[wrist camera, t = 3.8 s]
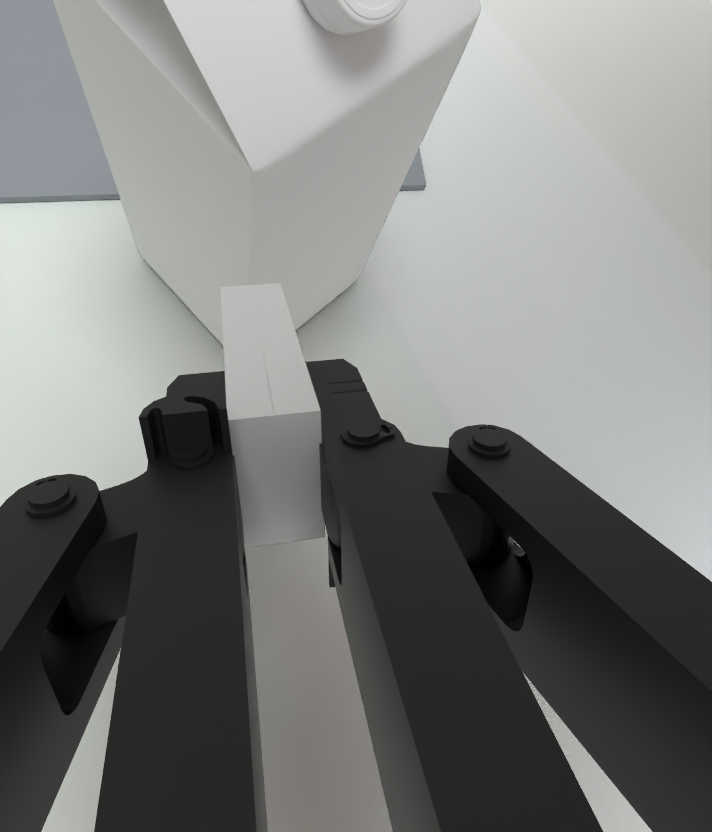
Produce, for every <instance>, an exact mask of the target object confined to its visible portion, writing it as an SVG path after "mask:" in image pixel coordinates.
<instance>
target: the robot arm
mask: <svg viewBox="0 0 712 832" xmlns="http://www.w3.org/2000/svg"><path fill="white" fill-rule="evenodd" d="M221 306H222V327H223V347H224V368H225V371H221V372H210V373H199V374H187V375H179V376H178V377H177V378H176V379H175V380H174V381H173V382H172V383H171V384H170V385H169V386H168V388H167V395H166V397H164V398H161V399H159V400H156V401H154V402H153V403H151V404H150V405H148V406H147V407H146V408H144V409H143V411H142V413H141V414H140V416H139V421H140V425H141V430H142V435H143V439H144V444H145V449H146V453H147V458H148V467H147V471H146V472H145V473H144V474H142V475H140V476H139V477H137V478H135V479H133V480H131V481H129V482H126V483H123V484H121V485H118V486H115V487H112V488H108V489H105V490H102V491H99V489H98V487H97V485H96V482H94V481H93V480H91V479H89V478H88V477H86V476H81V475H74V474H65V475H54V476H50V477H46V478H42V479H39V480H36V481H34V482H32V483H30V484H28V485H26V486H24V487H22V488H20V489H19V490H17V491H16V492H15V493H14V494H13V495H12V496H10V497H9V498H8V499H7V500H6V501H5V502H4V503H3V505H2V506H1V507H0V832H41V830H42V828H43V826H44V823H45V821H46V819H47V816H48V814H49V812H50V810H51V807H52V805H53V803H54V800H55V798H56V796H57V793H58V791H59V789H60V786H61V784H62V782H63V780H64V777H65V775H66V773H67V770H68V768H69V766H70V763H71V761H72V759H73V757H74V754H75V752H76V750H77V747H78V745H79V743H80V740H81V738H82V736H83V733H84V731H85V729H86V727H87V724H88V722H89V720H90V717H91V715H92V713H93V710H94V708H95V706H96V704H97V701H98V699H99V697H100V694H101V692H102V690H103V687H104V685H105V683H106V680H107V678H108V676H109V674H110V671H111V669H112V667H113V664H114V662H115V660H116V657H117V655H118V653H119V651H120V648H121V652H120V659H119V666H118V673H117V680H116V687H115V694H114V700H113V707H112V714H111V721H110V728H109V735H108V742H107V748H106V755H105V762H104V769H103V776H102V783H101V789H100V796H99V803H98V810H97V817H96V824H95V831H94V832H268V829H267V816H266V804H265V791H264V778H263V765H262V752H261V740H260V727H259V714H258V701H257V688H256V676H255V663H254V650H253V637H252V624H251V612H250V599H249V586H248V573H247V564H246V556H245V548H251V547H258V546H265V545H272V544H279V543H286V542H293V541H300V540H307V539H314V538H321V537H325V525H326V529H327V533H328V556H329V587H335V586H336V591H337V595H338V599H339V603H340V608H341V612H342V616H343V620H344V625H345V629H346V633H347V637H348V642H349V646H350V650H351V654H352V659H353V663H354V667H355V671H356V676H357V680H358V684H359V688H360V693H361V697H362V701H363V705H364V710H365V714H366V718H367V722H368V727H369V731H370V735H371V740H372V744H373V748H374V752H375V757H376V761H377V765H378V769H379V774H380V778H381V782H382V786H383V791H384V795H385V799H386V803H387V808H388V812H389V816H390V820H391V825H392V829H393V832H603V830H602V828H601V826H600V825H599V823H598V821H597V819H596V817H595V815H594V813H593V811H592V809H591V807H590V805H589V803H588V801H587V799H586V797H585V795H584V793H583V791H582V789H581V787H580V785H579V783H578V781H577V779H576V777H575V775H574V773H573V771H572V769H571V767H570V765H569V763H568V761H567V759H566V757H565V755H564V753H563V751H562V749H561V747H560V746H559V744H558V742H557V740H556V738H555V736H554V734H553V732H552V730H551V728H550V726H549V724H548V722H547V720H546V718H545V716H544V714H543V712H542V710H541V708H540V706H539V704H538V702H537V700H536V698H535V696H534V694H533V692H532V690H531V688H530V686H529V684H528V682H527V680H526V678H525V676H524V674H525V675H526V676H527V678H528V679H529V680H530V681H531V683H532V684H533V685H534V686H535V687H536V689H537V690H538V691H539V692H540V694H541V695H542V696H543V697H544V699H545V700H546V701H547V702H548V703H549V705H550V706H551V707H552V708H553V710H554V711H555V712H556V713H557V715H558V716H559V717H560V718H561V719H562V721H563V722H564V723H565V724H566V726H567V727H568V728H569V729H570V731H571V732H572V733H573V734H574V735H575V737H576V738H577V739H578V740H579V742H580V743H581V744H582V745H583V747H584V748H585V749H586V750H587V751H588V753H589V754H590V755H591V756H592V758H593V759H594V760H595V761H596V763H597V764H598V765H599V766H600V767H601V769H602V770H603V771H604V772H605V774H606V775H607V776H608V777H609V779H610V780H611V781H612V782H613V783H614V785H615V786H616V787H617V788H618V790H619V791H620V792H621V793H622V795H623V796H624V797H625V798H626V799H627V801H628V802H629V803H630V804H631V806H632V807H633V808H634V809H635V811H636V812H637V813H638V814H639V815H640V817H641V818H642V819H643V820H644V822H645V823H646V824H647V825H648V827H649V828H650V829H651V830H652V831H653V832H712V582H711V581H710V580H709V579H707V578H706V577H705V576H703V575H702V574H701V573H699V572H698V571H697V570H695V569H694V568H693V567H692V566H690V565H689V564H688V563H686V562H685V561H684V560H682V559H681V558H680V557H678V556H677V555H676V554H675V553H673V552H672V551H671V550H669V549H668V548H667V547H665V546H664V545H663V544H661V543H660V542H659V541H657V540H656V539H655V538H654V537H652V536H651V535H650V534H648V533H647V532H646V531H644V530H643V529H642V528H640V527H639V526H638V525H636V524H635V523H634V522H633V521H631V520H630V519H629V518H627V517H626V516H625V515H623V514H622V513H621V512H619V511H618V510H617V509H615V508H614V507H613V506H612V505H610V504H609V503H608V502H606V501H605V500H604V499H602V498H601V497H600V496H598V495H597V494H596V493H594V492H593V491H592V490H591V489H589V488H588V487H587V486H585V485H584V484H583V483H581V482H580V481H579V480H577V479H576V478H575V477H573V476H572V475H571V474H570V473H568V472H567V471H566V470H564V469H563V468H562V467H560V466H559V465H558V464H556V463H555V462H554V461H552V460H551V459H550V458H549V457H547V456H546V455H545V454H543V453H542V452H541V451H539V450H538V449H537V448H535V447H534V446H533V445H532V444H530V443H529V442H528V441H526V440H525V439H524V438H522V437H521V436H519V435H517V434H516V433H514V432H512V431H510V430H508V429H504V428H501V427H497V426H494V425H474V426H467V427H464V428H462V429H459V430H457V431H455V432H454V434H453V435H452V436H451V437H450V439H449V448H441V447H429V446H421V445H415V444H411V443H408V442H406V441H405V439H404V437H403V435H402V434H401V432H400V431H399V430H398V429H397V428H396V426H395V425H393V424H391V423H389V422H387V421H385V420H382V419H381V418H380V415H379V413H378V411H377V409H376V407H375V405H374V403H373V401H372V399H371V397H370V394H369V392H367V388H366V386H365V384H364V382H363V380H362V378H361V376H360V373H359V371H358V369H357V368H356V367H354V366H353V365H351V364H350V363H348V362H347V361H345V360H344V359H336V360H324V361H313V362H305V359H304V356H303V353H302V350H301V347H300V344H299V340H298V337H297V334H296V331H295V328H294V325H293V321H292V318H291V315H290V312H289V309H288V306H287V302H286V299H285V296H284V293H283V290H282V287H281V283H273V284H258V285H242V286H227V287H221ZM324 521H325V525H324ZM514 541H515V542H516V543H517V544H518V545H519V546H520V547H521V548H522V549H521V548H520V547H519V546H518V545H517V544H516V543H515V542H514ZM522 671H523V672H522ZM523 673H524V674H523Z"/></svg>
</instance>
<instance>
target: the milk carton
mask: <svg viewBox="0 0 712 832" xmlns="http://www.w3.org/2000/svg"><path fill="white" fill-rule="evenodd" d="M53 2H54V5H55V8H56V11H57V14H58V17H59V20H60V23H61V26H62V29H63V31H64V34H65V37H66V40H67V43H68V46H69V49H70V52H71V55H72V58H73V61H74V64H75V67H76V70H77V73H78V76H79V78H80V81H81V84H82V87H83V90H84V93H85V96H86V99H87V102H88V105H89V108H90V111H91V114H92V117H93V120H94V122H95V125H96V128H97V131H98V134H99V137H100V140H101V143H102V146H103V149H104V152H105V155H106V158H107V161H108V164H109V166H110V169H111V172H112V175H113V178H114V181H115V184H116V187H117V190H118V193H119V196H120V199H121V202H122V205H123V208H124V211H125V213H126V216H127V219H128V222H129V225H130V228H131V231H132V234H133V237H134V240H135V243H136V246H137V249H138V252H139V254H140V255H141V256H142V258H143V259H144V260H145V261H146V262H147V263H148V264H149V265H150V266H151V267H152V268H153V270H154V271H155V272H156V273H157V274H158V275H159V276H160V277H161V278H162V279H163V281H164V282H165V283H166V284H167V285H168V286H169V287H170V288H171V289H172V290H173V292H174V293H175V294H176V295H177V296H178V297H179V298H180V299H181V300H182V301H183V302H184V304H185V305H186V306H187V307H188V308H189V309H190V310H191V311H192V312H193V313H194V315H195V316H196V317H197V318H198V319H199V320H200V321H201V322H202V323H203V324H204V325H205V327H206V328H207V329H208V330H209V331H210V332H211V333H212V334H213V335H214V336H215V338H216V339H217V340H218V341H219V342H220V343H221V344H222V345H223V327H222V306H221V287H227V286H242V285H258V284H273V283H281V287H282V290H283V293H284V296H285V299H286V302H287V306H288V309H289V312H290V315H291V318H292V321H293V325H294V328H295V331H296V330H297V329H298V328H299V327H301V326H302V325H303V324H304V323H305V322H307V321H308V320H309V319H310V318H312V317H313V316H314V315H315V314H316V313H318V312H319V311H320V310H321V309H323V308H324V307H325V306H326V305H327V304H329V303H330V302H331V301H332V300H334V299H335V298H336V297H337V296H338V295H340V294H341V293H342V292H343V291H345V290H346V289H347V288H348V287H349V286H351V285H352V284H353V283H354V282H355V281H356V280H357V279H358V277H359V276H360V274H361V271H362V269H363V267H364V265H365V263H366V261H367V258H368V256H369V254H370V252H371V250H372V248H373V246H374V243H375V241H376V239H377V237H378V235H379V233H380V231H381V228H382V226H383V224H384V222H385V220H386V218H387V215H388V213H389V211H390V209H391V207H392V205H393V203H394V200H395V198H396V196H397V194H398V192H399V190H400V188H401V185H402V183H403V181H404V179H405V177H406V175H407V173H408V170H409V168H410V166H411V164H412V162H413V160H414V157H415V155H416V153H417V151H418V149H419V147H420V145H421V142H422V140H423V138H424V136H425V134H426V132H427V130H428V127H429V125H430V123H431V121H432V119H433V117H434V115H435V112H436V110H437V108H438V106H439V104H440V102H441V99H442V97H443V95H444V93H445V91H446V89H447V87H448V84H449V82H450V80H451V78H452V76H453V74H454V72H455V69H456V67H457V65H458V63H459V61H460V59H461V56H462V54H463V52H464V50H465V48H466V45H467V43H468V41H469V39H470V36H471V34H472V32H473V29H474V26H475V24H476V22H477V19H478V17H479V14H480V10H481V6H480V1H479V0H53Z"/></svg>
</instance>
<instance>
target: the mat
mask: <svg viewBox="0 0 712 832" xmlns="http://www.w3.org/2000/svg"><path fill="white" fill-rule="evenodd" d="M425 186H426V182H425V177H424V171H423V166H422V160H421V155H420V150H419V149H418V151H417V153H416V155H415V157H414V160H413V162H412V164H411V166H410V168H409V170H408V173H407V175H406V177H405V179H404V181H403V183H402V185H401V188H400V190H424V188H425ZM108 199H120V196H119V193H118V190H117V187H116V184H115V181H114V178H113V175H112V172H111V169H110V166H109V164H108V161H107V158H106V155H105V152H104V149H103V146H102V143H101V140H100V137H99V134H98V131H97V128H96V125H95V122H94V120H93V117H92V114H91V111H90V108H89V105H88V102H87V99H86V96H85V93H84V90H83V87H82V84H81V81H80V78H79V76H78V73H77V70H76V67H75V64H74V61H73V58H72V55H71V52H70V49H69V46H68V43H67V40H66V37H65V34H64V31H63V29H62V26H61V23H60V20H59V17H58V14H57V11H56V8H55V5H54V2H53V0H0V203H13V202H45V201H77V200H108Z"/></svg>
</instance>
